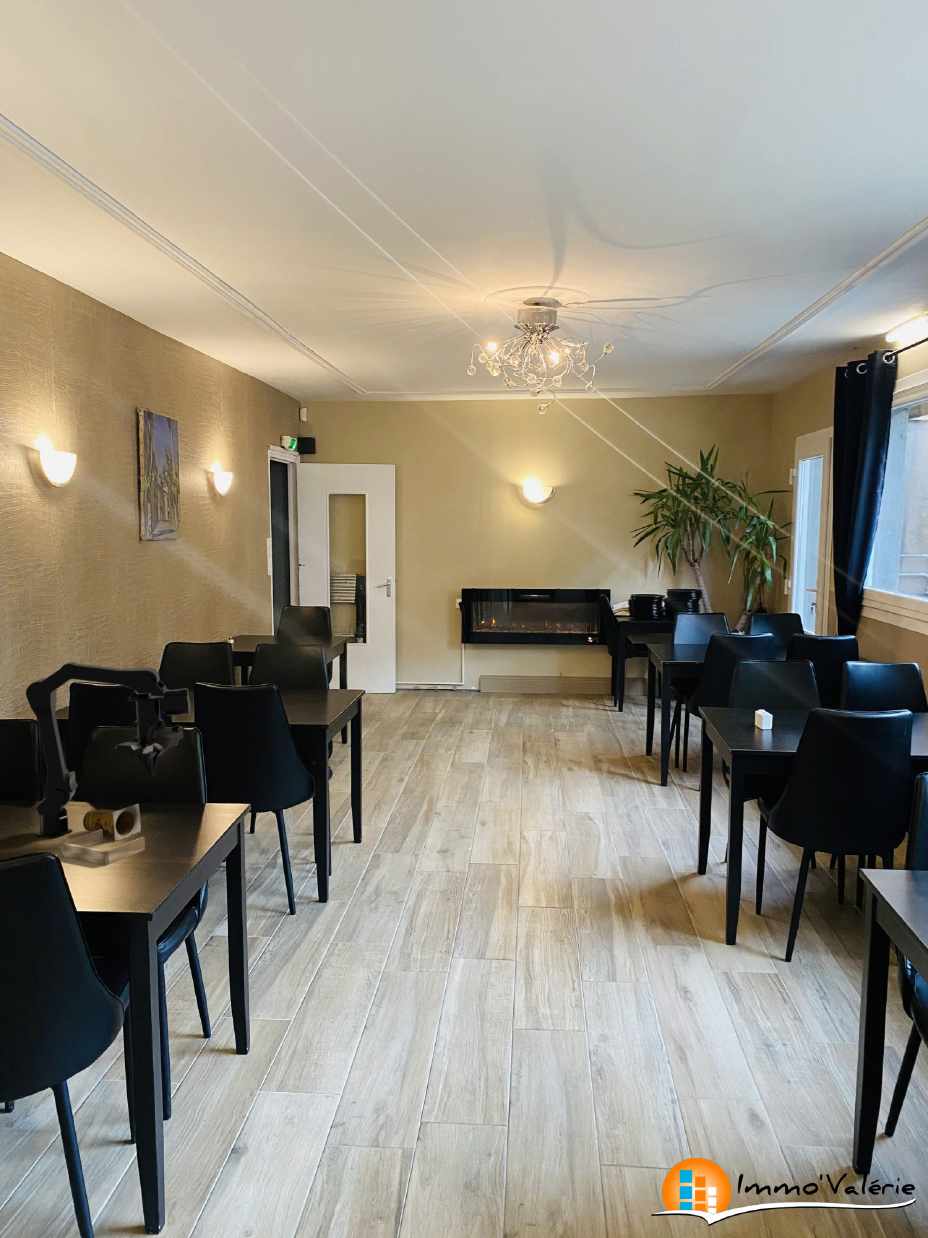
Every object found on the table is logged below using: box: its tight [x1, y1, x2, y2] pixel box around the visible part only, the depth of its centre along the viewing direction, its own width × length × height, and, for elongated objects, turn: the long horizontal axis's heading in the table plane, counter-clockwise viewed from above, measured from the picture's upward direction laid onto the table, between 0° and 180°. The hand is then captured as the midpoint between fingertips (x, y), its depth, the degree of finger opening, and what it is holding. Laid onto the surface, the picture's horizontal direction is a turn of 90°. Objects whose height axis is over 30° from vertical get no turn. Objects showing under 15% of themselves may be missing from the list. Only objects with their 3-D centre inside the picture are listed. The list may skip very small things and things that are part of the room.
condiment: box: [82, 803, 142, 842], centre depth 227 cm, size 7×8×12 cm
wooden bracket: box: [60, 829, 146, 866], centre depth 213 cm, size 15×12×3 cm
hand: (151, 776), depth 231 cm, fingers closed
